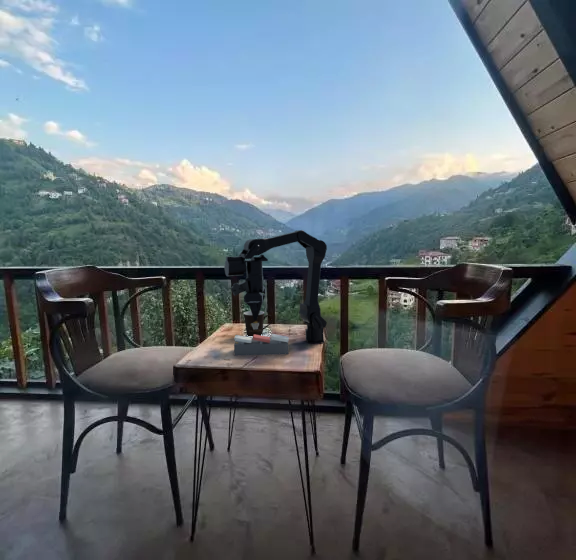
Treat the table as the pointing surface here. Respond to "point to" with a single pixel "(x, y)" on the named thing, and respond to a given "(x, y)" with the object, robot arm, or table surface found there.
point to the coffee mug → (255, 323)
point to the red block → (261, 338)
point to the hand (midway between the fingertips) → (256, 316)
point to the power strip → (260, 348)
